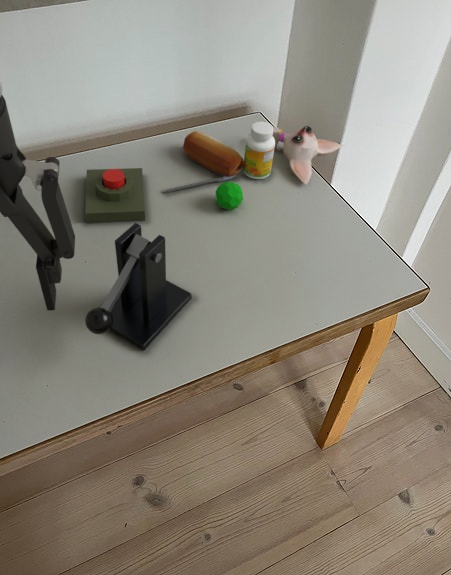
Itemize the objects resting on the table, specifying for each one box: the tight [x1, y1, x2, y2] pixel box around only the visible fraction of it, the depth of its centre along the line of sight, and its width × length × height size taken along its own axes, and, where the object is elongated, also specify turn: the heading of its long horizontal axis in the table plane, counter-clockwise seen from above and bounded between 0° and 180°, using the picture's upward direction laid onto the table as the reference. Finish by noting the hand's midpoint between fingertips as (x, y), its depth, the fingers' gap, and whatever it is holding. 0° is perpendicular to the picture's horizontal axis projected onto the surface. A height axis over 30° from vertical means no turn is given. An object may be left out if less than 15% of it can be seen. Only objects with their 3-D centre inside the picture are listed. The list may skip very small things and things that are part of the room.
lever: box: [84, 234, 152, 335], centre depth 76 cm, size 14×4×4 cm
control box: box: [84, 167, 146, 224], centre depth 101 cm, size 12×10×4 cm
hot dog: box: [182, 130, 245, 177], centre depth 110 cm, size 5×13×5 cm
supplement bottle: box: [242, 121, 276, 180], centre depth 107 cm, size 5×5×10 cm
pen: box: [166, 174, 238, 193], centre depth 107 cm, size 1×1×14 cm
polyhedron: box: [215, 180, 244, 211], centre depth 102 cm, size 5×5×5 cm
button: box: [103, 168, 125, 189], centre depth 100 cm, size 4×4×2 cm
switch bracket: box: [108, 222, 193, 351], centre depth 81 cm, size 12×9×15 cm
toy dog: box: [272, 125, 344, 186], centre depth 112 cm, size 15×8×15 cm
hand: (15, 302), depth 59 cm, fingers open, 6 cm apart
